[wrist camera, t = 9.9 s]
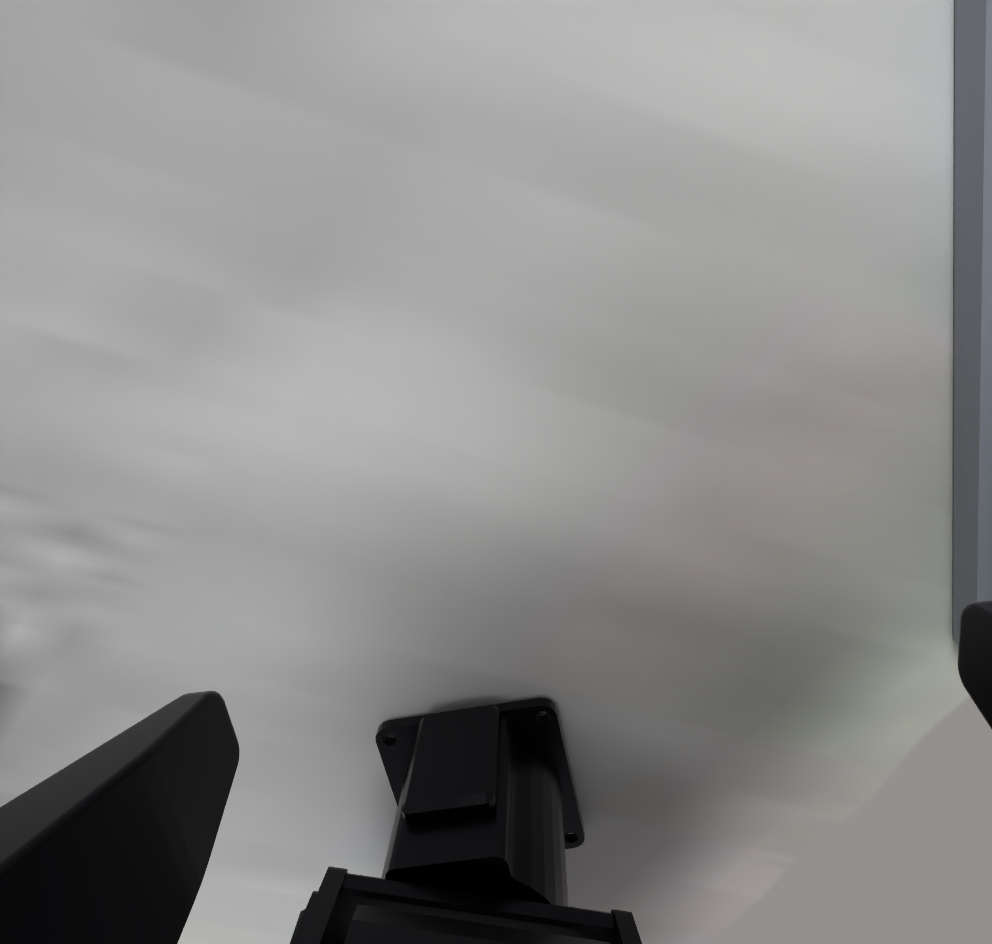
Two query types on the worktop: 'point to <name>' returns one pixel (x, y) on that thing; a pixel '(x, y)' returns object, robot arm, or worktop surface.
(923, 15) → the worktop surface
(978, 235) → the rail
